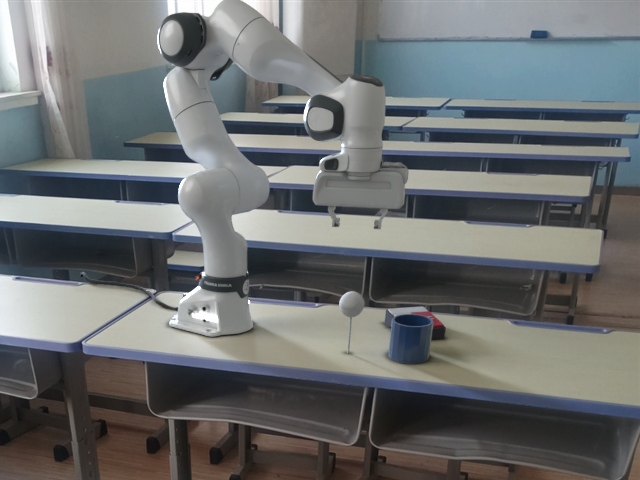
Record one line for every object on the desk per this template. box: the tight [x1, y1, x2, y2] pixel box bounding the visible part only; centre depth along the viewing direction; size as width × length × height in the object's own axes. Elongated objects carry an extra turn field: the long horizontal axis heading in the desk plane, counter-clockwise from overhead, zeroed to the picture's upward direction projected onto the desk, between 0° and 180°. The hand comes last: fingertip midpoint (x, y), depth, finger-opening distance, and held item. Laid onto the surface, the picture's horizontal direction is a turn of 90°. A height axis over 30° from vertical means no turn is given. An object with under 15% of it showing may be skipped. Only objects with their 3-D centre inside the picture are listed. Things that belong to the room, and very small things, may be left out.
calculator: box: [384, 306, 447, 340], centre depth 209 cm, size 11×4×15 cm
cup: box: [388, 314, 434, 365], centre depth 192 cm, size 10×10×9 cm
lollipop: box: [338, 291, 366, 354], centre depth 192 cm, size 6×6×15 cm
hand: (356, 227), depth 181 cm, fingers open, 8 cm apart
